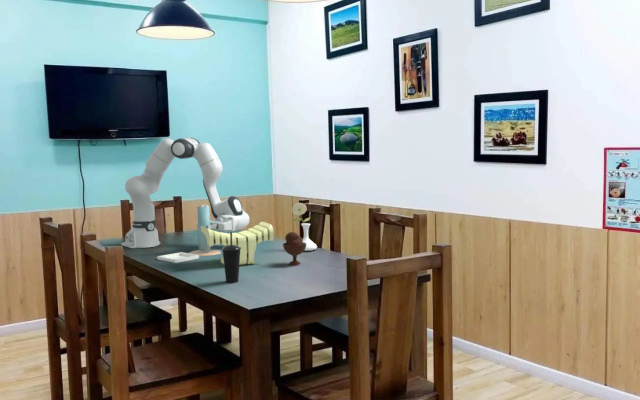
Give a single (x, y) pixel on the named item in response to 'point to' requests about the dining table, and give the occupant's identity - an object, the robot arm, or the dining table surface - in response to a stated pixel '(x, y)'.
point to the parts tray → (177, 257)
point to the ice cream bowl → (294, 246)
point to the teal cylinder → (203, 221)
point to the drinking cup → (231, 261)
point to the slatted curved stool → (242, 240)
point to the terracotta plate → (205, 252)
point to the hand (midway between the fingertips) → (202, 226)
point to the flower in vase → (304, 225)
